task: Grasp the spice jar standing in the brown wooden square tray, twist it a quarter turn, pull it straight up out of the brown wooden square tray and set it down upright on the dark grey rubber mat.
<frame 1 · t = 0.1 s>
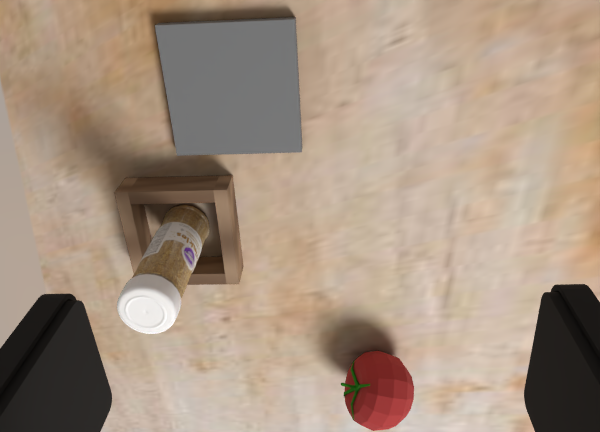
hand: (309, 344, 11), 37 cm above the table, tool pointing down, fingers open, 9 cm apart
spice jar: (187, 222, 53), resting in brown wooden square tray
mat: (233, 88, 46), on the table
brown wooden square tray: (186, 223, 53), on the table
tomato: (372, 361, 61), on the table
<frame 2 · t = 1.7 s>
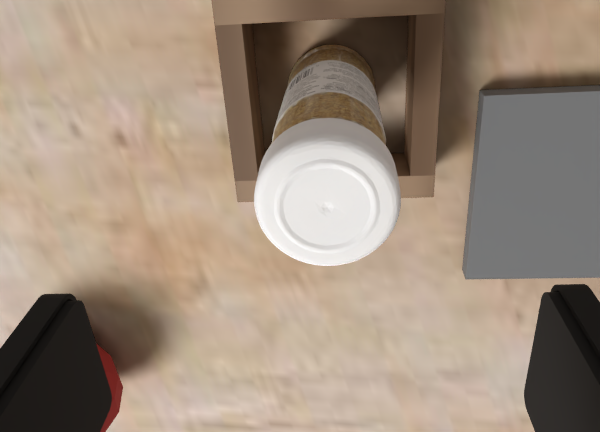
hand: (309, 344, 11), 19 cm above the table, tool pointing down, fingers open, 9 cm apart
spice jar: (331, 85, 29), resting in brown wooden square tray
mat: (572, 184, 30), on the table
brown wooden square tray: (331, 86, 28), on the table
tomato: (83, 350, 39), on the table
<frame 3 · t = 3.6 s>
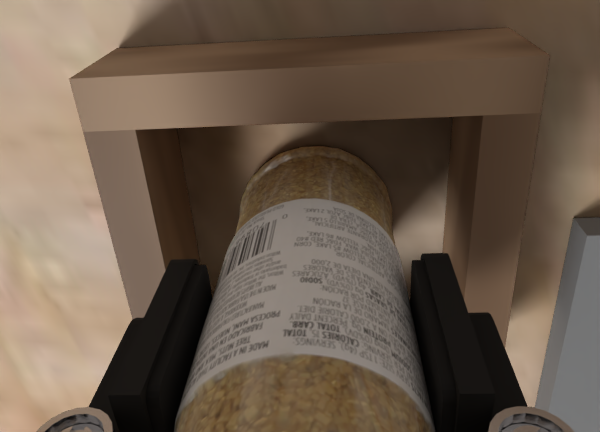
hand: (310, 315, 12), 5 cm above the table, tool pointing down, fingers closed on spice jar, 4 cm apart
spice jar: (316, 207, 17), resting in brown wooden square tray, touching gripper
brown wooden square tray: (316, 210, 16), on the table
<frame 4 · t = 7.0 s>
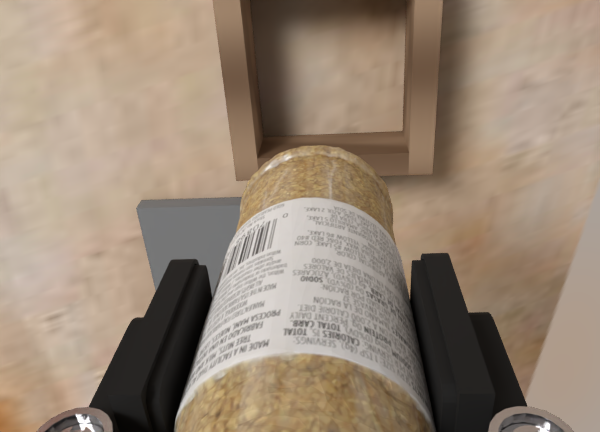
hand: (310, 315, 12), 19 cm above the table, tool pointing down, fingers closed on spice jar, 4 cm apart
spice jar: (317, 206, 17), point 14 cm above the table, touching gripper
mat: (243, 274, 35), on the table
brown wooden square tray: (329, 64, 28), on the table
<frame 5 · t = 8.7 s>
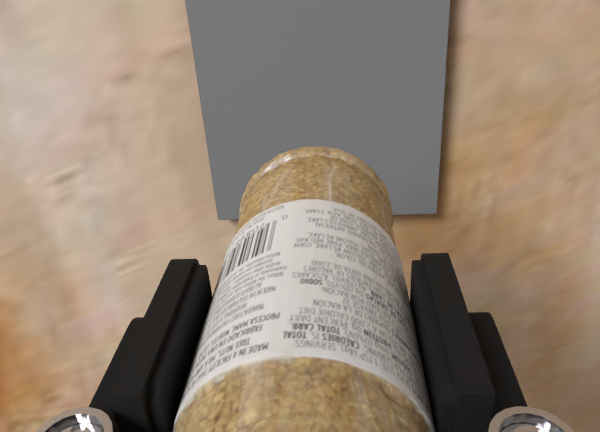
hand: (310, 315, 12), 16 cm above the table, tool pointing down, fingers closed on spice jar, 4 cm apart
spice jar: (316, 207, 17), point 11 cm above the table, touching gripper
mat: (321, 104, 26), on the table
when the fingers open (8 cm above the table, at t = 10.4 s): spice jar drops 2 cm, resting on mat.
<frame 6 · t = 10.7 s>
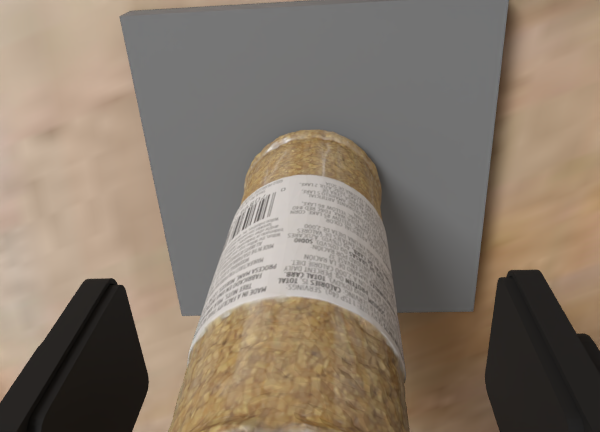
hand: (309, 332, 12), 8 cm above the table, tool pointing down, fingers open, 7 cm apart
spice jar: (313, 185, 18), point 1 cm above the table, touching mat
mat: (318, 169, 19), on the table
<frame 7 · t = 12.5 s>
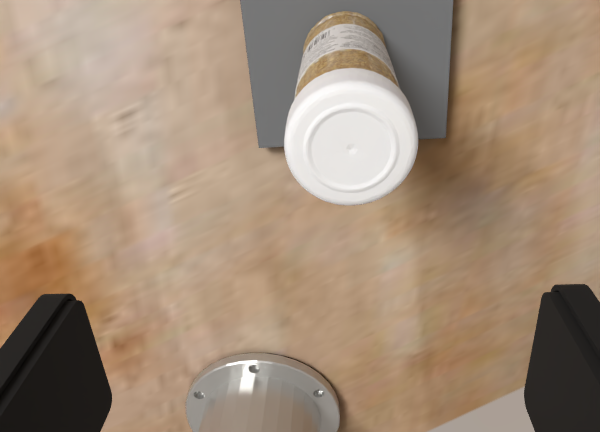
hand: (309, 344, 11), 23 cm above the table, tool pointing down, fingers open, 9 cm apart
spice jar: (344, 51, 30), point 1 cm above the table, touching mat
mat: (347, 44, 31), on the table
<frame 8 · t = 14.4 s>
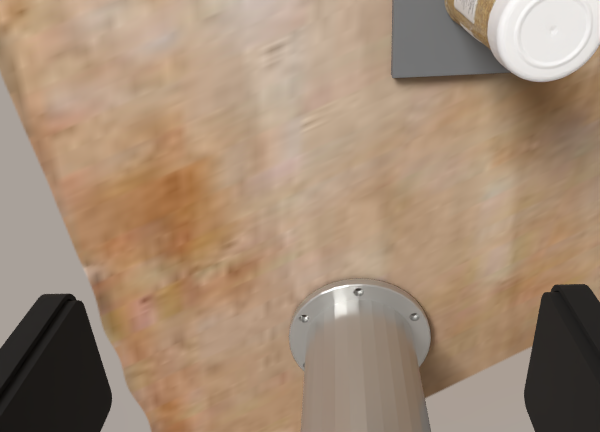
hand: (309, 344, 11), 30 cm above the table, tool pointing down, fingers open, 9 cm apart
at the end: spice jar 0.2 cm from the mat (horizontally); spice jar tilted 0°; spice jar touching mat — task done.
